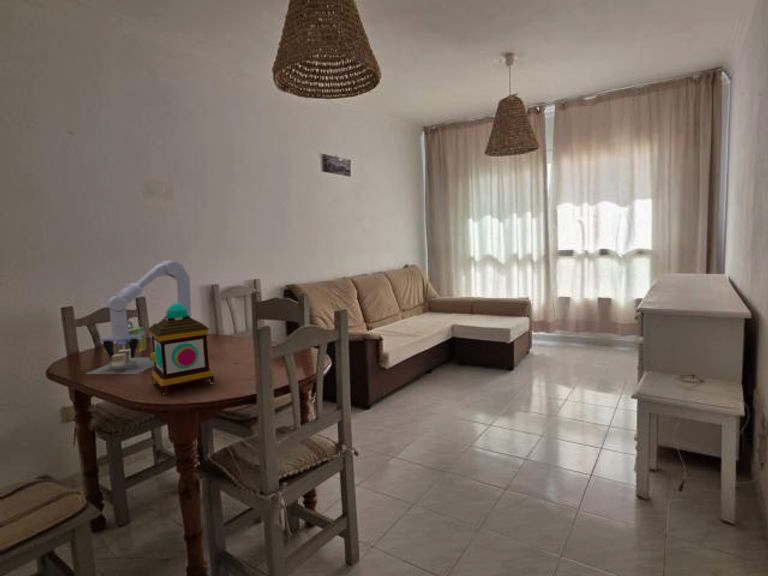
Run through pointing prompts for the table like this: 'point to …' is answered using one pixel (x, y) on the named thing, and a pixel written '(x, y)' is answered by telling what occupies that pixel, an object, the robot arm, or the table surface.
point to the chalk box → (125, 344)
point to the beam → (121, 357)
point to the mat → (142, 365)
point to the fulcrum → (124, 366)
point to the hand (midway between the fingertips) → (122, 358)
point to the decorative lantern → (179, 349)
